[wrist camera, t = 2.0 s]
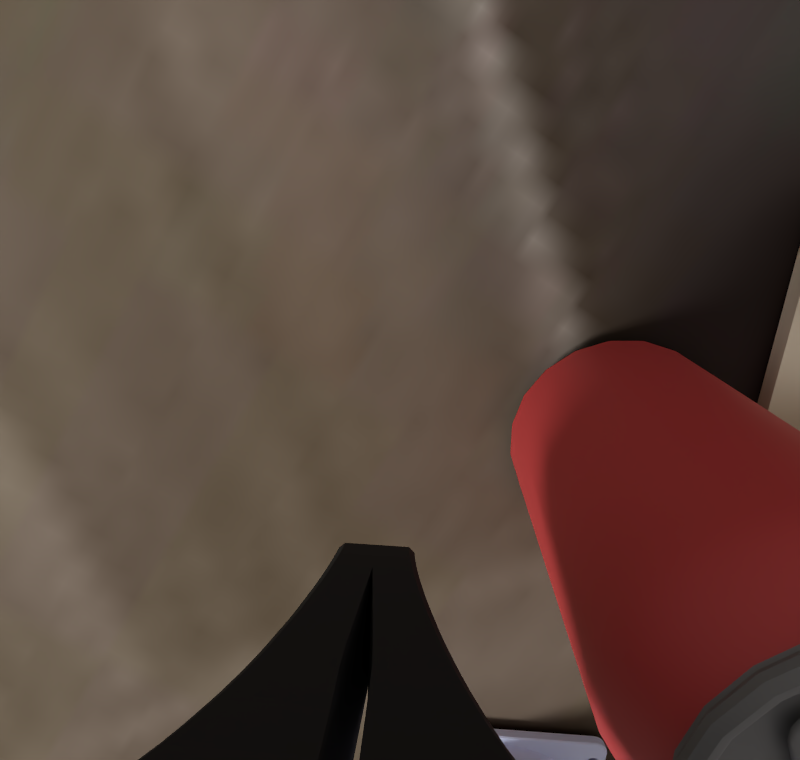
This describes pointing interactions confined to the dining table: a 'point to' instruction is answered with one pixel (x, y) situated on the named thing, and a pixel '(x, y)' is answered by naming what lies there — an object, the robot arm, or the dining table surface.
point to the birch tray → (785, 359)
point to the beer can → (669, 550)
